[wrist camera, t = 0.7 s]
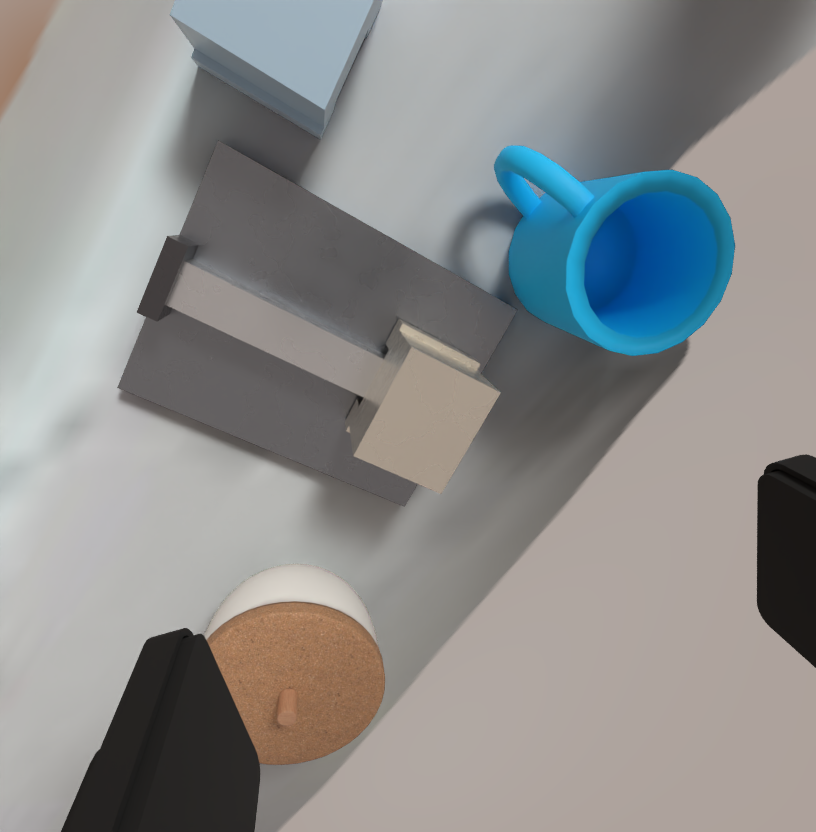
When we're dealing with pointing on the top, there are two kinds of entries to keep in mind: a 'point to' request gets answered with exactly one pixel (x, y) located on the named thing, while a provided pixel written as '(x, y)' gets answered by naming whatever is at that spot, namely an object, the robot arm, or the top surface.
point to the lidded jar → (298, 661)
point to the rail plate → (315, 285)
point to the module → (280, 50)
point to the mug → (616, 252)
